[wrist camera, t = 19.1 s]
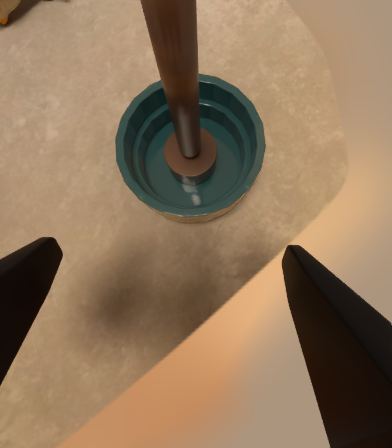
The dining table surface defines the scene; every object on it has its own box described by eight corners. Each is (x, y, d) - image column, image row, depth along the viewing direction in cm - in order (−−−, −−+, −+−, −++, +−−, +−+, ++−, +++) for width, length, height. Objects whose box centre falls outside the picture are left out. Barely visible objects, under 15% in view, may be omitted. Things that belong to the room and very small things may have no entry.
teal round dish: (271, 194, 19) (291, 179, 14) (160, 242, 19) (147, 240, 14) (222, 92, 20) (227, 51, 16) (117, 137, 20) (94, 107, 16)
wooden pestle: (191, 195, 18) (69, -277, 2) (159, 162, 19) (-175, -469, 2) (225, 163, 18) (400, -532, 2) (193, 131, 19) (116, -664, 2)
